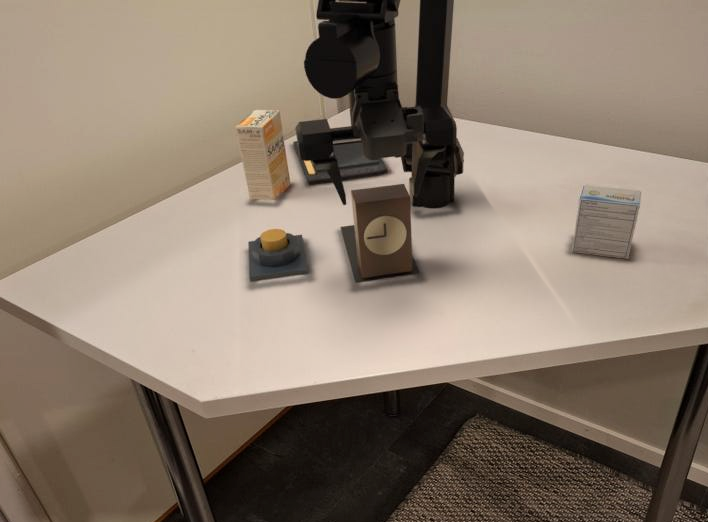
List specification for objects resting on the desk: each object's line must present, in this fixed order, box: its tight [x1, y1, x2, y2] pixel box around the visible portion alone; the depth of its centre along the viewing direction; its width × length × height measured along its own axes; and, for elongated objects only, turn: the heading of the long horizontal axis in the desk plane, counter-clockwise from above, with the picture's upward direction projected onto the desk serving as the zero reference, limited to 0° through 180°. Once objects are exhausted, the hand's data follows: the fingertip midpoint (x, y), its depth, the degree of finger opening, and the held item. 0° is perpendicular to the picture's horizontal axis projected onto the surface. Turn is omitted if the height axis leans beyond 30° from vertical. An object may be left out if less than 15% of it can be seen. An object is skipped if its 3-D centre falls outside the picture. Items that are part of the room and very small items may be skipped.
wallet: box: [292, 140, 389, 186], centre depth 119 cm, size 20×2×15 cm
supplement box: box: [235, 109, 292, 201], centre depth 105 cm, size 8×5×13 cm, turn 168°
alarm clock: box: [350, 183, 413, 278], centre depth 83 cm, size 7×11×4 cm
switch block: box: [247, 232, 309, 282], centre depth 90 cm, size 10×8×4 cm
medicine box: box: [571, 184, 642, 260], centre depth 88 cm, size 8×4×9 cm, turn 71°
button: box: [259, 228, 288, 251], centre depth 89 cm, size 4×4×2 cm
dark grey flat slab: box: [340, 224, 421, 284], centre depth 92 cm, size 9×16×1 cm, turn 11°
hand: (379, 199), depth 81 cm, fingers open, 9 cm apart
